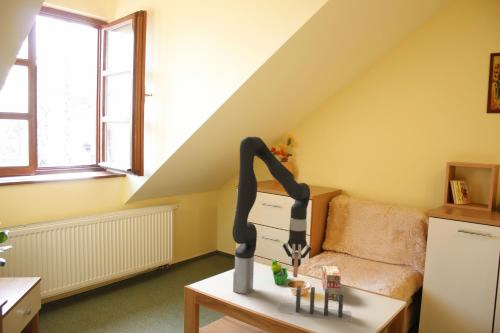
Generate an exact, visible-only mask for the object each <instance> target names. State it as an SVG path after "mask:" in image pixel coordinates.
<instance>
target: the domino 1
mask: <svg viewBox="0 0 500 333" xmlns="http://www.w3.org/2000/svg"><path fill="white" fill-rule="evenodd" d="M298 272H299V267H298V251H295V258H294V267H293V273H292V275H293V278H298Z"/></svg>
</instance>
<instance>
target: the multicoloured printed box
mask: <svg viewBox="0 0 500 333" xmlns="http://www.w3.org/2000/svg"><path fill="white" fill-rule="evenodd" d="M341 276H342V275H341V272H340V270H339V269H338V267H337V266H336V265H335V266H334V265H332V266H331V265H321V284H322V289H323V293H324V294H325V288H326V289H329V299H328V300H338V301H339V290H341Z"/></svg>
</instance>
